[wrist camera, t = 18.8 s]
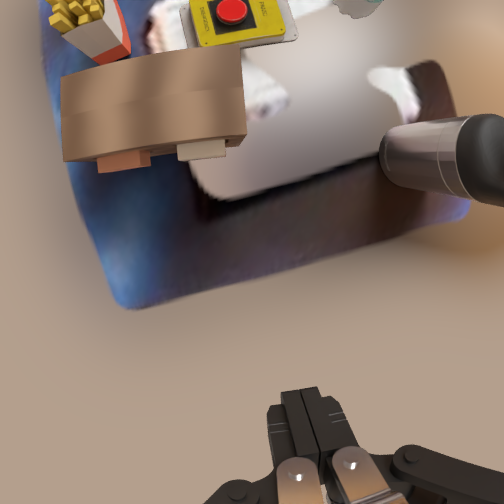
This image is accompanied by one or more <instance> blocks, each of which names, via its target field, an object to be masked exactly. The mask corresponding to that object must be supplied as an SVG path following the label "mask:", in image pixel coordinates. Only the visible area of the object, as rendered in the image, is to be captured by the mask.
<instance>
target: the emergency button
mask: <svg viewBox="0 0 504 504" xmlns="http://www.w3.org/2000/svg"><path fill="white" fill-rule="evenodd" d="M180 15H181V19H182V23H183V28H184V32H185V36H186V40H187V45H188V49H189V48H198V47H207V46H217V45H230V44H240V48H244V49H247V48H253V47H258V46H264V45H272V44H278V43H286V42H293V41H295V40H296V39H297V38H298V32H297V28H296V25H295V22H294V19H293V16H292V13H291V10H290V7H289V4H288V1H287V0H189V3H188V4H185V5H183V6H182V7H181V8H180Z"/></svg>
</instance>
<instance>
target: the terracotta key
mask: <svg viewBox="0 0 504 504" xmlns="http://www.w3.org/2000/svg"><path fill="white" fill-rule="evenodd" d="M97 165H98V173H105V172H115V171H121V170H127V169H133V168H139V167H146V166H151V161H150V151H146V150H138V151H132V152H126V153H120V154H115V155H110V156H104V157H99V158H97Z"/></svg>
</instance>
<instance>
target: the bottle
mask: <svg viewBox="0 0 504 504" xmlns="http://www.w3.org/2000/svg"><path fill="white" fill-rule="evenodd" d="M382 1H384V0H333V2H334V4H335V5H337V6H338V7H339V11H340V12H341V13H342V14H348V15H350V16H351V17H352V18H353V19H358V18H361V17H366V16H368V15H370V14H371V13H373V12H374V10H375V9H376V8H377V7H378V6H379V5H380V4H381V2H382Z"/></svg>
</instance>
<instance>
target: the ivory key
mask: <svg viewBox="0 0 504 504" xmlns="http://www.w3.org/2000/svg"><path fill="white" fill-rule="evenodd" d="M177 155H178V160H179V161H189V160H198V159H207V158H217V157H225V156H226V151H225V139H223V140H213V141H203V142H195V143H186V144H178V145H177Z"/></svg>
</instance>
